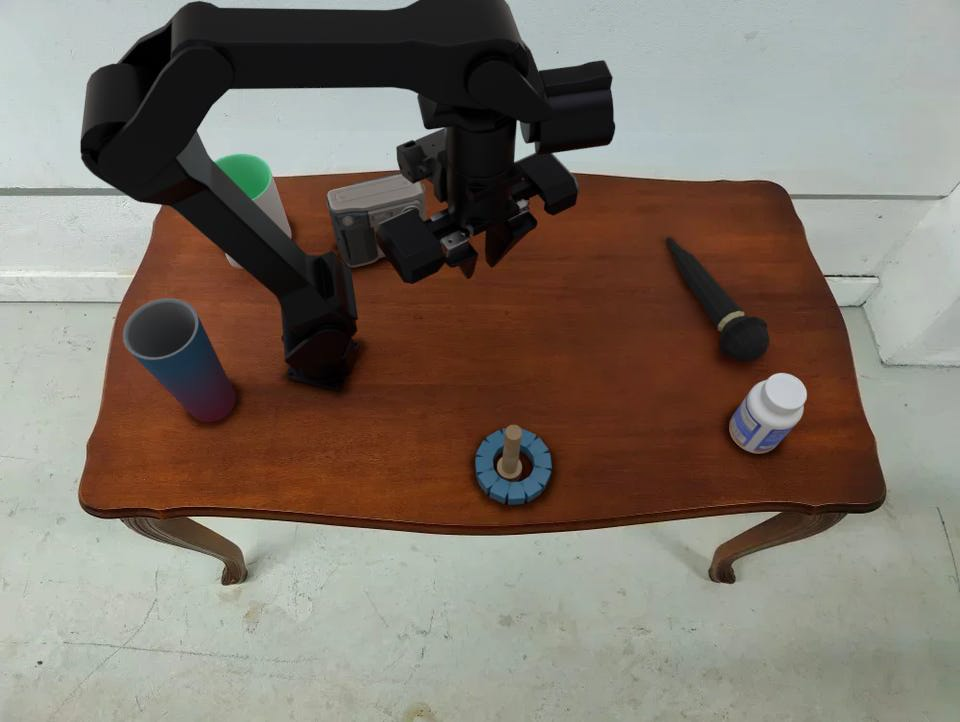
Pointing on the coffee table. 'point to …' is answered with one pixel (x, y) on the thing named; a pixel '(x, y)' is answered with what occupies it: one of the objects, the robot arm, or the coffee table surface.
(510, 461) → the beige peg
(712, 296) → the microphone
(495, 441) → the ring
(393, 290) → the coffee table surface
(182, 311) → the cup
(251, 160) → the mug
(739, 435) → the pill bottle
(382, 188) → the camera
